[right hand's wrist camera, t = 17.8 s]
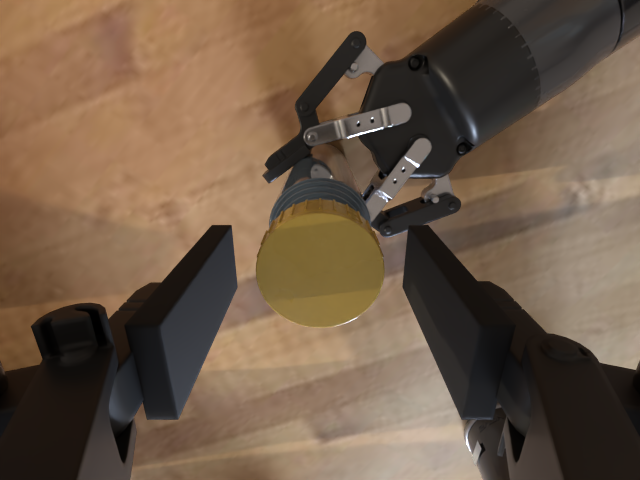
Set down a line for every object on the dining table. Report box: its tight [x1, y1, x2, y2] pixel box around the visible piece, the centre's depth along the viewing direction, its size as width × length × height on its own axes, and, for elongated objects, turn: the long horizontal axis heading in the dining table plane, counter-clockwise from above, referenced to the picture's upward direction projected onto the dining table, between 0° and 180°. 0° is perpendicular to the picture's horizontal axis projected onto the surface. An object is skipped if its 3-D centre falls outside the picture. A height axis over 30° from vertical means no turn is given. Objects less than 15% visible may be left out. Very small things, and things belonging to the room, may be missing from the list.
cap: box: [256, 198, 384, 328], centre depth 13 cm, size 5×5×2 cm
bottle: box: [269, 143, 371, 228], centre depth 22 cm, size 5×5×20 cm
